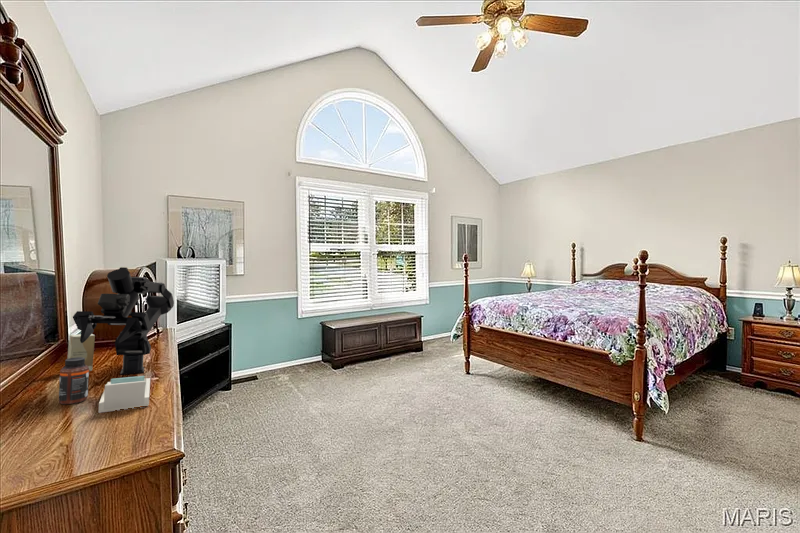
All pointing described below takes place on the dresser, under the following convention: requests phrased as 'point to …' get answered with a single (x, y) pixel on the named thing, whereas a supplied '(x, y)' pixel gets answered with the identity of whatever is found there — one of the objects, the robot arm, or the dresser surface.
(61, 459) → the dresser surface
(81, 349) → the skincare box
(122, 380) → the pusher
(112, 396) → the lane
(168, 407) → the dresser surface
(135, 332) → the robot arm
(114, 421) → the dresser surface
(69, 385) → the supplement bottle
